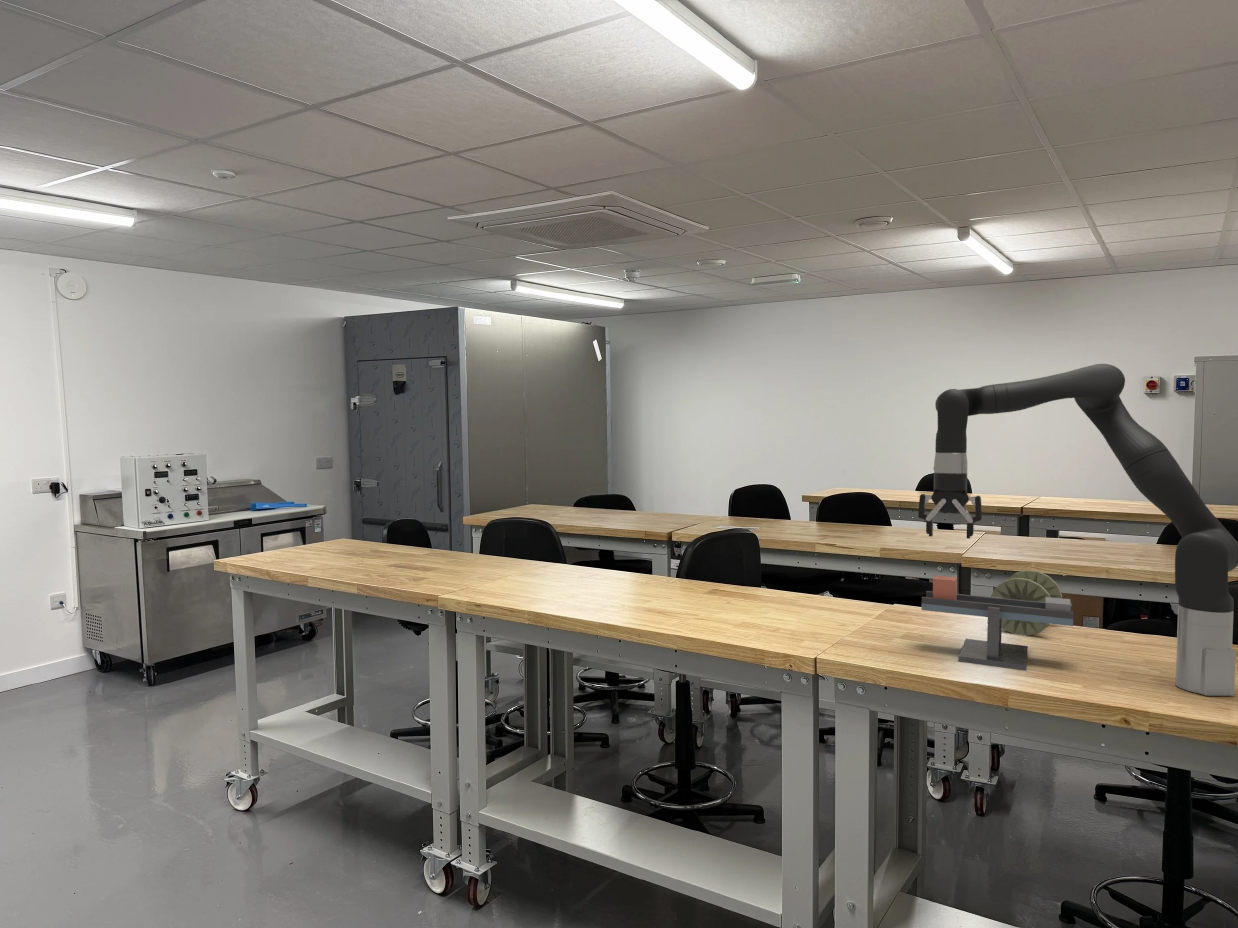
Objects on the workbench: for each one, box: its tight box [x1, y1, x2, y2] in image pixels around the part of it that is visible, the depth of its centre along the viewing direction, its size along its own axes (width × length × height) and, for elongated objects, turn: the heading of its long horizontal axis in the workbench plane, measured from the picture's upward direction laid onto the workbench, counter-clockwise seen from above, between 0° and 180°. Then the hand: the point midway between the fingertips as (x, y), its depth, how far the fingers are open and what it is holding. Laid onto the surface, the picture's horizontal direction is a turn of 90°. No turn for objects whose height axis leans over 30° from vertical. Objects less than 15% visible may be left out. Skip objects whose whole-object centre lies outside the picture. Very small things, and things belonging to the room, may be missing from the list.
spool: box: [990, 569, 1063, 637], centre depth 212 cm, size 16×15×15 cm
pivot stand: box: [958, 597, 1029, 671], centre depth 185 cm, size 14×18×13 cm
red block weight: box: [932, 575, 958, 600], centre depth 191 cm, size 5×5×6 cm
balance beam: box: [921, 590, 1074, 627], centre depth 185 cm, size 32×11×5 cm, turn 61°
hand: (949, 537), depth 190 cm, fingers open, 8 cm apart
